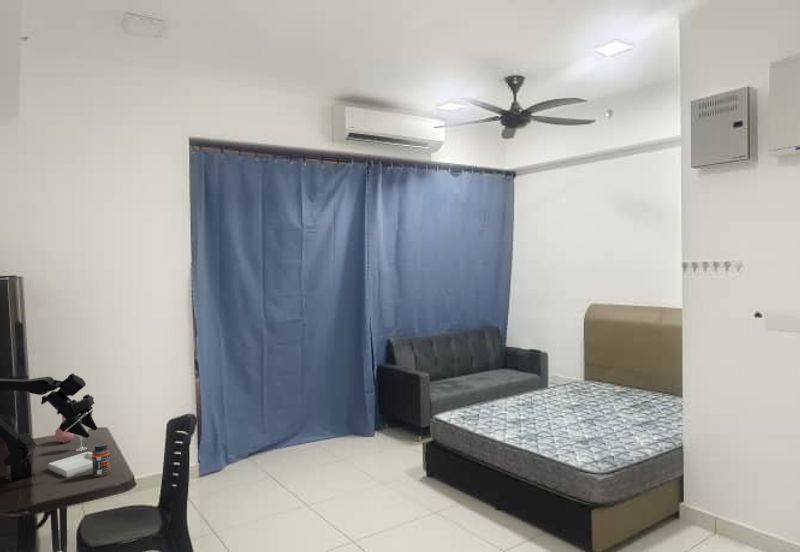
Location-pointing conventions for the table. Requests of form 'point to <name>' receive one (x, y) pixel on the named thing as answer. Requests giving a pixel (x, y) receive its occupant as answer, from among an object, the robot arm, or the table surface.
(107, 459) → the supplement bottle
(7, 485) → the table surface
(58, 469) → the tray
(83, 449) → the wineglass
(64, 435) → the pink vase
